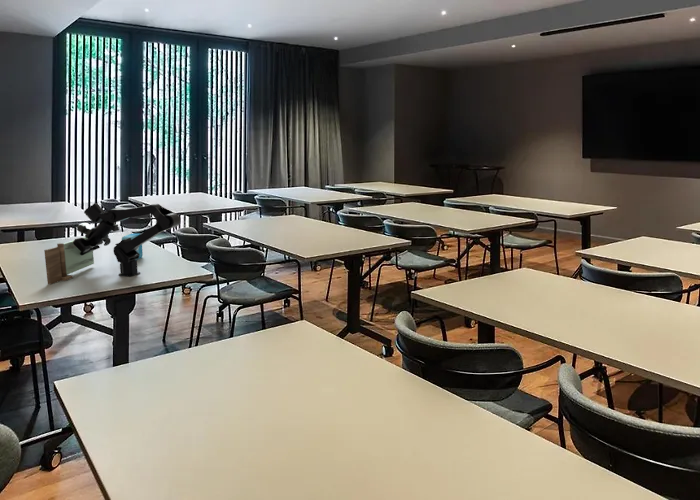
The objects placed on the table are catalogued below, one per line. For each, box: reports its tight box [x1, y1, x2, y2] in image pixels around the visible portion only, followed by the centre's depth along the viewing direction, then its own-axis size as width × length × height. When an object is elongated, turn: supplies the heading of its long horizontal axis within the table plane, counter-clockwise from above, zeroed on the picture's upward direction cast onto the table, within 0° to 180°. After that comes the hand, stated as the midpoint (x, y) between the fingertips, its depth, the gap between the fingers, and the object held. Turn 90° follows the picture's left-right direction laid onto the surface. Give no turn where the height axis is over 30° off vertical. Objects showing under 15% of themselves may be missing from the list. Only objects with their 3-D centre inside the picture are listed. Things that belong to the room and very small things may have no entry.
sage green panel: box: [64, 236, 95, 275], centre depth 248 cm, size 3×22×13 cm, turn 175°
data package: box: [121, 233, 144, 260], centre depth 275 cm, size 12×4×12 cm, turn 176°
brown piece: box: [44, 242, 74, 285], centre depth 233 cm, size 5×11×15 cm, turn 169°
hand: (81, 254), depth 249 cm, fingers closed, pressing on sage green panel
